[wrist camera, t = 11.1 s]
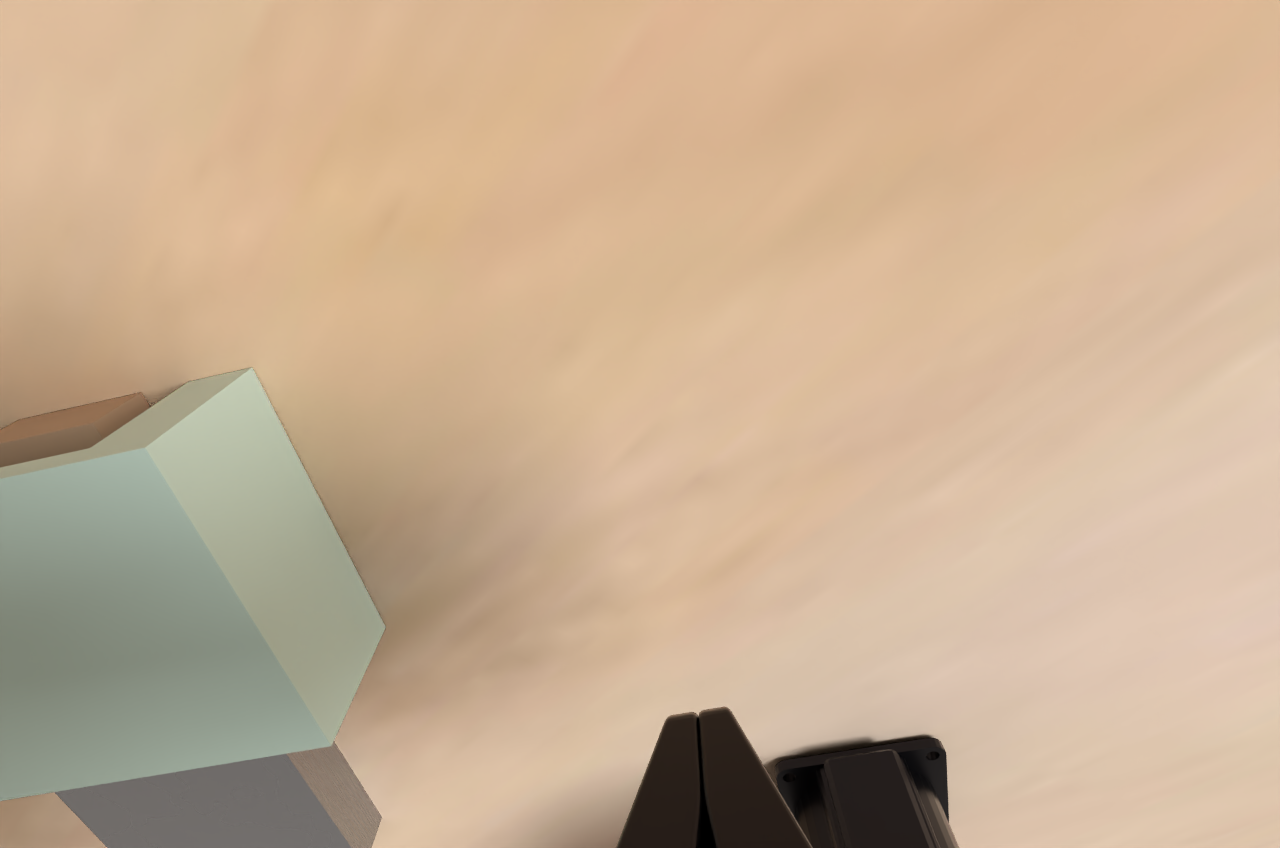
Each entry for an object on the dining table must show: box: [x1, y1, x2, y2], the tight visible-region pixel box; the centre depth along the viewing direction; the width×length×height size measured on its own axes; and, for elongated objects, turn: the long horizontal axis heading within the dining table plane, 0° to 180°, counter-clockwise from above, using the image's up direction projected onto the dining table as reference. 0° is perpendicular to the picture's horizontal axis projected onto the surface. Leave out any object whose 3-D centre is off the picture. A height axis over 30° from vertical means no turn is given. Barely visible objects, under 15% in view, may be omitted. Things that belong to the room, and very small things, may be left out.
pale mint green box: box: [0, 368, 386, 801], centre depth 21 cm, size 10×17×5 cm, turn 103°
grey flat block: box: [55, 742, 382, 848], centre depth 24 cm, size 18×9×2 cm, turn 13°
